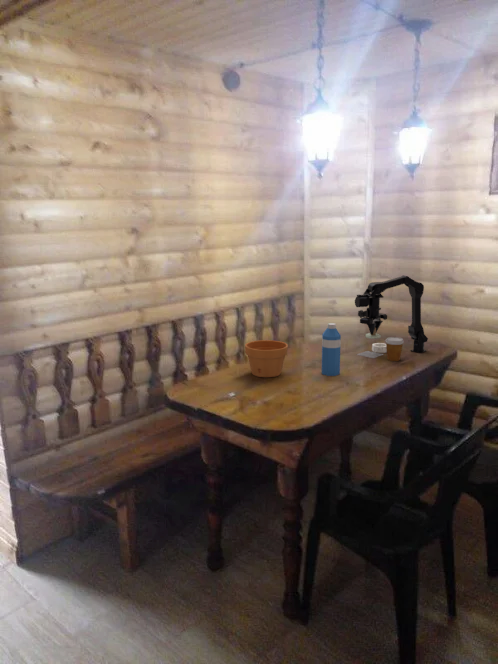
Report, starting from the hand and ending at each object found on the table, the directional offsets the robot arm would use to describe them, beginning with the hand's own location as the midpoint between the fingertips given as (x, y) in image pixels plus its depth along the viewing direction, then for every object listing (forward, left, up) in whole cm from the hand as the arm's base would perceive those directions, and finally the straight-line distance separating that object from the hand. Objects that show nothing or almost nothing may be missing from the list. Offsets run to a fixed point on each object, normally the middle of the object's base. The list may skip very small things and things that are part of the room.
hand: (373, 334), depth 307 cm
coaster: (+2, 0, -12) cm, 12 cm away
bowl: (-9, -1, -12) cm, 15 cm away
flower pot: (+65, -20, -12) cm, 69 cm away
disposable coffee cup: (+2, +14, -12) cm, 19 cm away
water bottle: (+43, +3, -12) cm, 45 cm away
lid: (0, 0, -2) cm, 2 cm away
